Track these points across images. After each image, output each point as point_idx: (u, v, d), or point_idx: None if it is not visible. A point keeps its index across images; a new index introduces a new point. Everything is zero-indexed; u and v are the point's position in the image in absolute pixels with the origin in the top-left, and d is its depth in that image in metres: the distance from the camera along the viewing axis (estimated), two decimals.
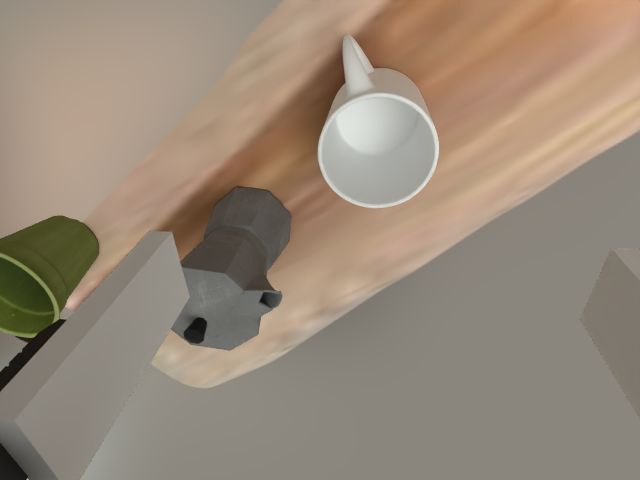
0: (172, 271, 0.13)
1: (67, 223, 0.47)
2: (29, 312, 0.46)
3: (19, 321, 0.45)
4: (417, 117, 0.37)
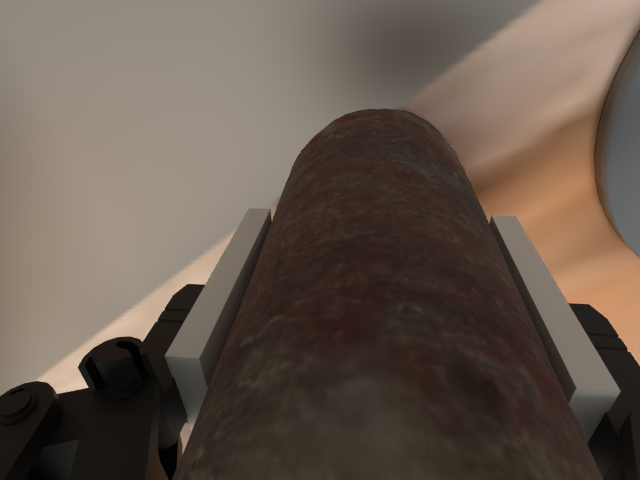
0: None
1: None
2: None
3: None
4: None
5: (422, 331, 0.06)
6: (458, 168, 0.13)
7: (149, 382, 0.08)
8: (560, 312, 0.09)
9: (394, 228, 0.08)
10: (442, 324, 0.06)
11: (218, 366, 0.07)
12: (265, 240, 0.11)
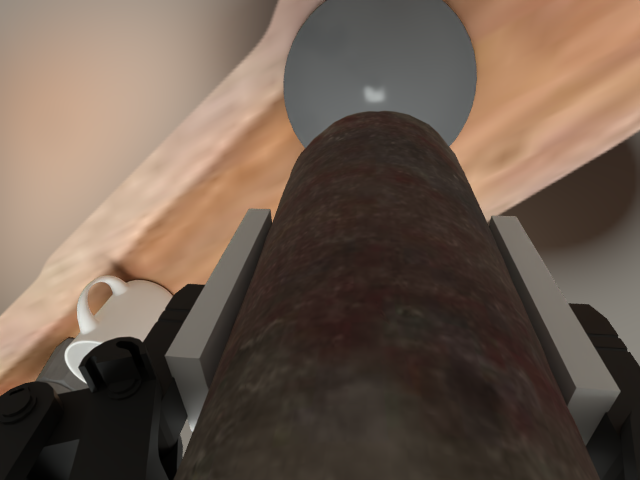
0: None
1: None
2: None
3: None
4: None
5: (423, 335, 0.06)
6: (458, 170, 0.13)
7: (149, 382, 0.08)
8: (560, 312, 0.09)
9: (394, 231, 0.08)
10: (441, 327, 0.06)
11: (218, 369, 0.07)
12: (265, 242, 0.11)
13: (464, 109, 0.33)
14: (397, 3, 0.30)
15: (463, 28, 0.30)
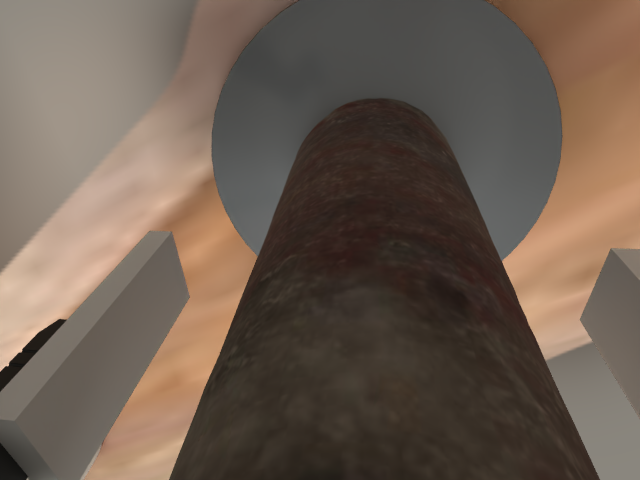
0: (172, 271, 0.13)
1: None
2: None
3: None
4: None
5: (409, 258, 0.07)
6: (447, 149, 0.14)
7: None
8: None
9: (388, 189, 0.09)
10: (424, 254, 0.07)
11: (241, 301, 0.09)
12: (276, 210, 0.13)
13: (532, 206, 0.19)
14: (417, 21, 0.15)
15: (544, 69, 0.15)
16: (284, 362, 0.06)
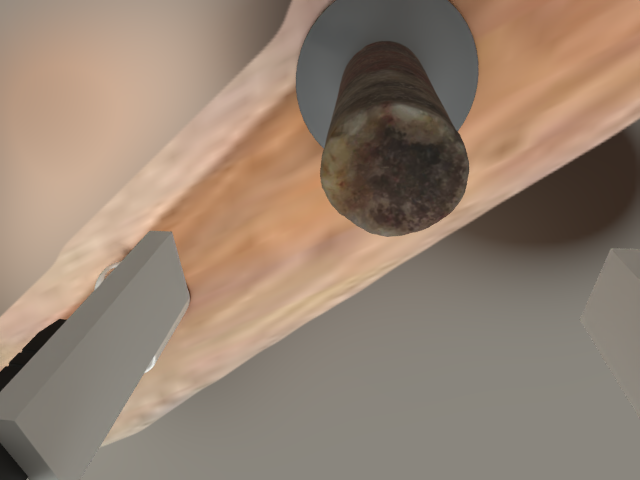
0: (172, 271, 0.13)
1: None
2: None
3: None
4: None
5: (398, 67, 0.24)
6: (418, 60, 0.31)
7: None
8: None
9: (391, 59, 0.26)
10: (402, 68, 0.24)
11: (340, 93, 0.25)
12: (342, 81, 0.29)
13: (466, 102, 0.35)
14: (405, 2, 0.32)
15: (466, 26, 0.32)
16: (365, 80, 0.22)
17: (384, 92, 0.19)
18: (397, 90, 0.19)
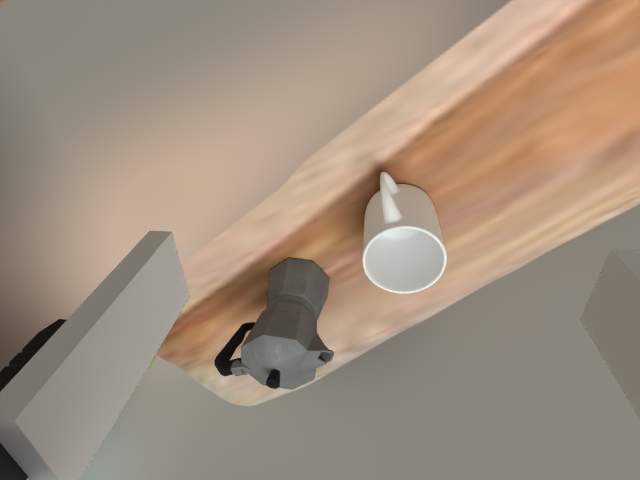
0: (172, 271, 0.13)
1: None
2: None
3: None
4: None
5: None
6: None
7: None
8: None
9: None
10: None
11: None
12: None
13: None
14: None
15: None
16: None
17: None
18: None
